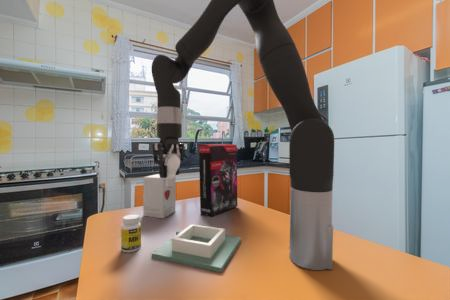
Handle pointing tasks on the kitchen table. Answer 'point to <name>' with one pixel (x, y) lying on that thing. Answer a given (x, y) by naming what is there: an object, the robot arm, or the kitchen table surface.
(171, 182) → the lightbulb
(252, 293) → the kitchen table surface
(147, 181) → the supplement box
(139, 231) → the supplement bottle
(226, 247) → the board
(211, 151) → the graphics card box
